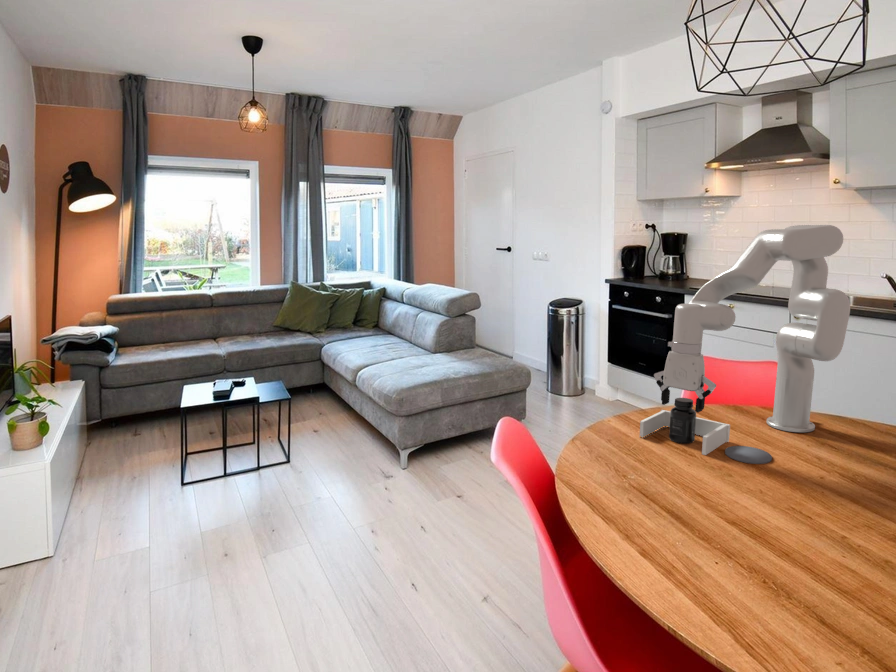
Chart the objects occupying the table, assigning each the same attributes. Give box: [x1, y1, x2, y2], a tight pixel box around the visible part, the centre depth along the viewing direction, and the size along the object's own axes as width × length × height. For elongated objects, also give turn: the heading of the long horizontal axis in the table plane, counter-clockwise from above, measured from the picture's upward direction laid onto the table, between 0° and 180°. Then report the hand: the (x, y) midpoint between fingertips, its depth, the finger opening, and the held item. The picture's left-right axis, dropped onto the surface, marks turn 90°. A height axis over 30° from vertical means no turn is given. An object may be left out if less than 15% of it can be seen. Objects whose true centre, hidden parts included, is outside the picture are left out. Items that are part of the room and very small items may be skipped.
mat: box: [724, 445, 773, 465], centre depth 150 cm, size 11×11×1 cm
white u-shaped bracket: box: [639, 409, 731, 456], centre depth 162 cm, size 14×20×5 cm
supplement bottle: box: [668, 397, 697, 445], centre depth 161 cm, size 7×7×12 cm
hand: (681, 407), depth 160 cm, fingers open, 9 cm apart
